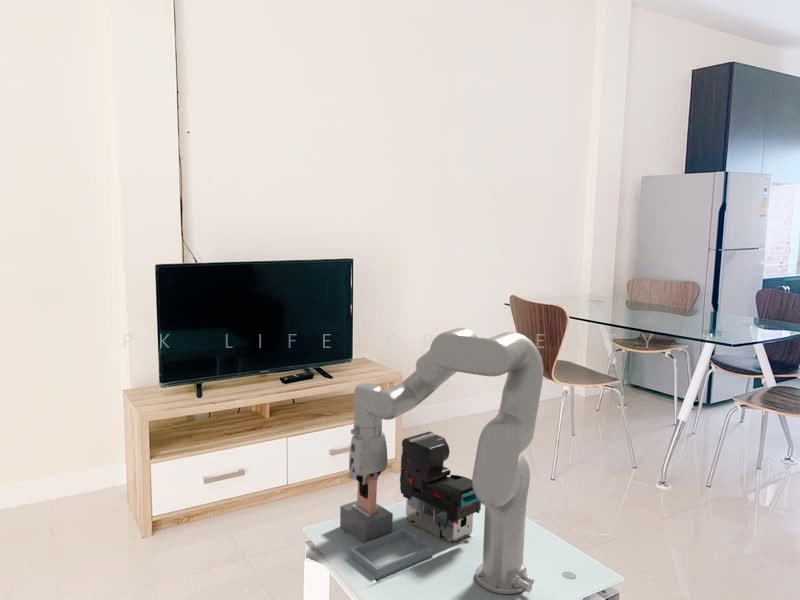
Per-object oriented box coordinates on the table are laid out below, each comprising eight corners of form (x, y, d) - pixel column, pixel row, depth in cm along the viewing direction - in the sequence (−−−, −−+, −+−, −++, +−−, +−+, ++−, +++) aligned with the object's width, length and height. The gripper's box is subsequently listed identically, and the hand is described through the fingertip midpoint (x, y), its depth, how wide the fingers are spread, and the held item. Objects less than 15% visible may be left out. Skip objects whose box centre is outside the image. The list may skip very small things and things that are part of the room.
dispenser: (392, 538, 163) (392, 512, 162) (365, 548, 158) (365, 521, 157) (366, 520, 173) (367, 496, 172) (340, 529, 167) (340, 504, 166)
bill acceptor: (457, 552, 157) (461, 460, 154) (397, 520, 173) (399, 437, 170) (483, 539, 164) (486, 451, 161) (422, 509, 180) (425, 429, 177)
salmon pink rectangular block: (375, 521, 163) (377, 479, 161) (369, 523, 162) (371, 481, 160) (362, 512, 168) (364, 471, 166) (356, 514, 166) (358, 473, 165)
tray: (432, 557, 154) (432, 546, 154) (376, 581, 143) (377, 569, 143) (403, 538, 163) (404, 528, 163) (349, 559, 152) (349, 548, 152)
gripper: (351, 439, 154) (351, 508, 156) (399, 428, 164) (398, 493, 166) (335, 432, 160) (335, 498, 162) (382, 421, 169) (382, 483, 171)
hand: (367, 495), depth 164 cm, fingers closed on salmon pink rectangular block, 1 cm apart
